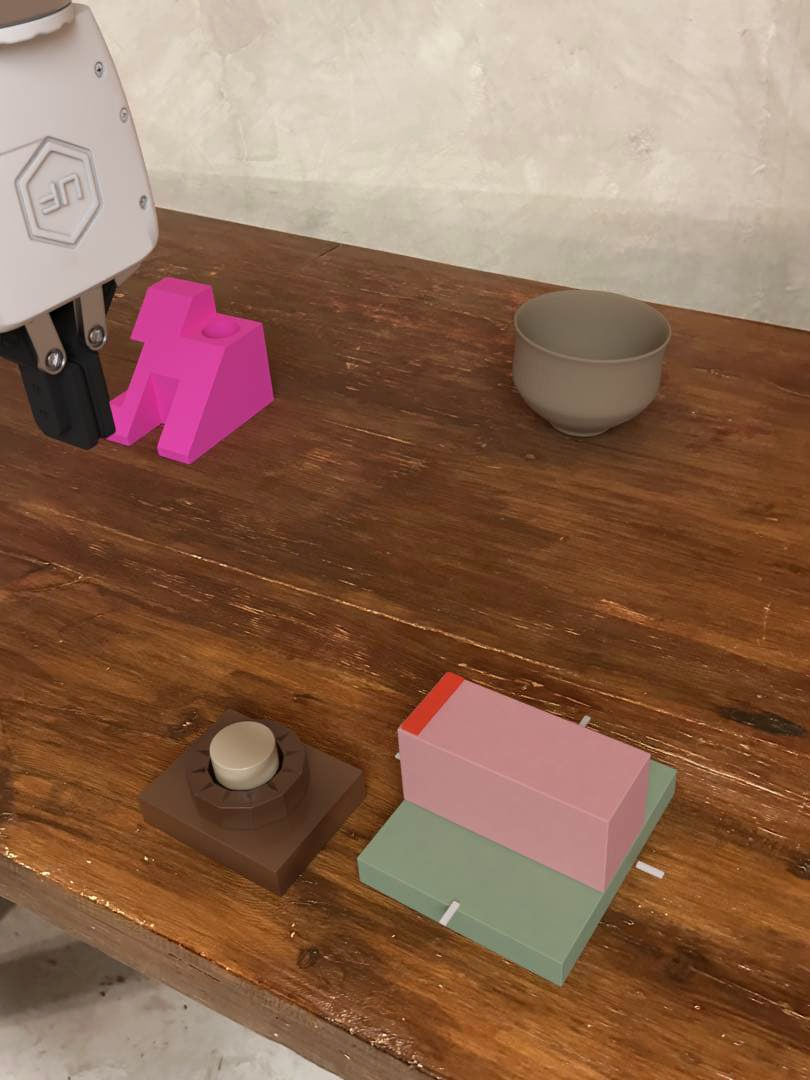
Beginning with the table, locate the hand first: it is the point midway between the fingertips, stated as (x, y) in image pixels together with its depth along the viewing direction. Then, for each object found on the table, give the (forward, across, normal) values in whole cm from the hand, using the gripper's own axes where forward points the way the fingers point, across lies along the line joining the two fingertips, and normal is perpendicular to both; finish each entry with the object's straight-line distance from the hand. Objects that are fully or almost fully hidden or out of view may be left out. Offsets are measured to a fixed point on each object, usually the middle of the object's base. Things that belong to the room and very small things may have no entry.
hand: (79, 434), depth 50 cm
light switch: (+25, +2, -4) cm, 25 cm away
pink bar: (+23, +8, -18) cm, 30 cm away
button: (+22, +2, -4) cm, 22 cm away
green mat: (+25, +8, -18) cm, 32 cm away
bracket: (+25, +34, +30) cm, 52 cm away
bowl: (+25, +49, -2) cm, 55 cm away
